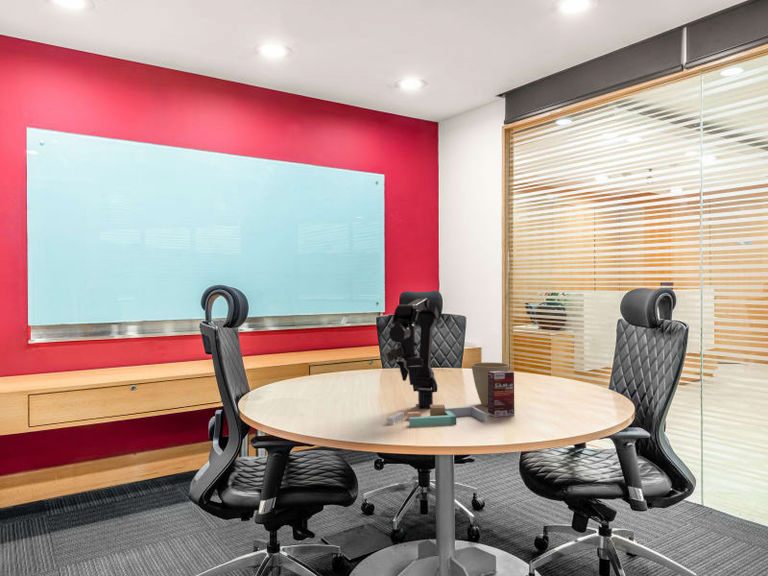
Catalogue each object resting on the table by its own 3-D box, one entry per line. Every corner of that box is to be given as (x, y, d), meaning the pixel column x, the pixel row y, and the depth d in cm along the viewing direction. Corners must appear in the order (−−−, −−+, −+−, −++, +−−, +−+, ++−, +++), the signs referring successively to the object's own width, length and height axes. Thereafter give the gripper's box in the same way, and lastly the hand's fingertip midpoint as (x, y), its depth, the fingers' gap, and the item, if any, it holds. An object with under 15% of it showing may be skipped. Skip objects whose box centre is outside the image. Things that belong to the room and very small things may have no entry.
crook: (405, 420, 192) (405, 413, 192) (449, 418, 194) (449, 410, 194) (410, 427, 183) (410, 418, 183) (456, 424, 185) (456, 416, 185)
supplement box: (494, 417, 193) (493, 373, 193) (487, 414, 198) (486, 371, 198) (515, 415, 196) (514, 371, 196) (508, 412, 200) (507, 370, 200)
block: (430, 418, 194) (429, 404, 194) (444, 418, 194) (443, 404, 194) (430, 422, 189) (430, 407, 189) (445, 421, 189) (444, 407, 189)
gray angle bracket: (442, 416, 197) (442, 407, 197) (472, 413, 200) (471, 405, 200) (453, 423, 185) (453, 415, 185) (485, 421, 188) (485, 412, 188)
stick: (387, 425, 187) (387, 418, 187) (398, 418, 196) (398, 412, 196) (393, 425, 186) (392, 418, 186) (404, 419, 195) (404, 412, 195)
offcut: (407, 419, 194) (407, 412, 194) (419, 418, 195) (419, 411, 195) (408, 420, 192) (408, 413, 192) (420, 419, 193) (420, 412, 193)
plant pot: (510, 409, 206) (509, 367, 206) (471, 408, 209) (470, 367, 209) (509, 401, 221) (508, 362, 221) (472, 400, 224) (472, 361, 224)
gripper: (379, 338, 202) (380, 380, 202) (392, 342, 184) (393, 388, 184) (407, 336, 204) (408, 378, 204) (423, 341, 186) (424, 386, 186)
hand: (408, 382), depth 195 cm, fingers open, 9 cm apart
